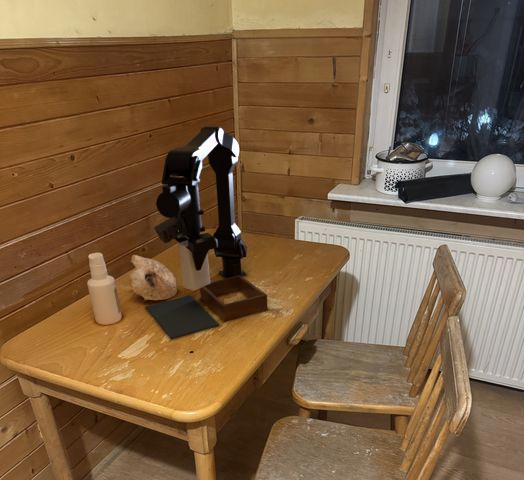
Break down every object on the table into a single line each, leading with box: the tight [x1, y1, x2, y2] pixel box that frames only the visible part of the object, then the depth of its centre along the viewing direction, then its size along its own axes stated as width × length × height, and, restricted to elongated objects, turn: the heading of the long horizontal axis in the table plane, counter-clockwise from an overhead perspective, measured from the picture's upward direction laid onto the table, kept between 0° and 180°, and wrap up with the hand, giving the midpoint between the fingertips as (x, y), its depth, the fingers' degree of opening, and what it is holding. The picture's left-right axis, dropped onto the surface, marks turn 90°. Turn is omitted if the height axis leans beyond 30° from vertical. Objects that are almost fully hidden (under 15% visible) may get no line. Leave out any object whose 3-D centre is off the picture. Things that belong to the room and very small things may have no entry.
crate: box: [199, 275, 269, 323], centre depth 139 cm, size 16×13×4 cm
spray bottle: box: [86, 252, 123, 326], centre depth 130 cm, size 7×7×18 cm
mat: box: [145, 295, 220, 340], centre depth 135 cm, size 20×13×1 cm, turn 29°
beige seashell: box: [128, 254, 178, 303], centre depth 148 cm, size 18×14×8 cm
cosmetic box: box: [177, 240, 211, 292], centre depth 129 cm, size 6×4×12 cm
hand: (194, 267), depth 129 cm, fingers closed on cosmetic box, 5 cm apart
